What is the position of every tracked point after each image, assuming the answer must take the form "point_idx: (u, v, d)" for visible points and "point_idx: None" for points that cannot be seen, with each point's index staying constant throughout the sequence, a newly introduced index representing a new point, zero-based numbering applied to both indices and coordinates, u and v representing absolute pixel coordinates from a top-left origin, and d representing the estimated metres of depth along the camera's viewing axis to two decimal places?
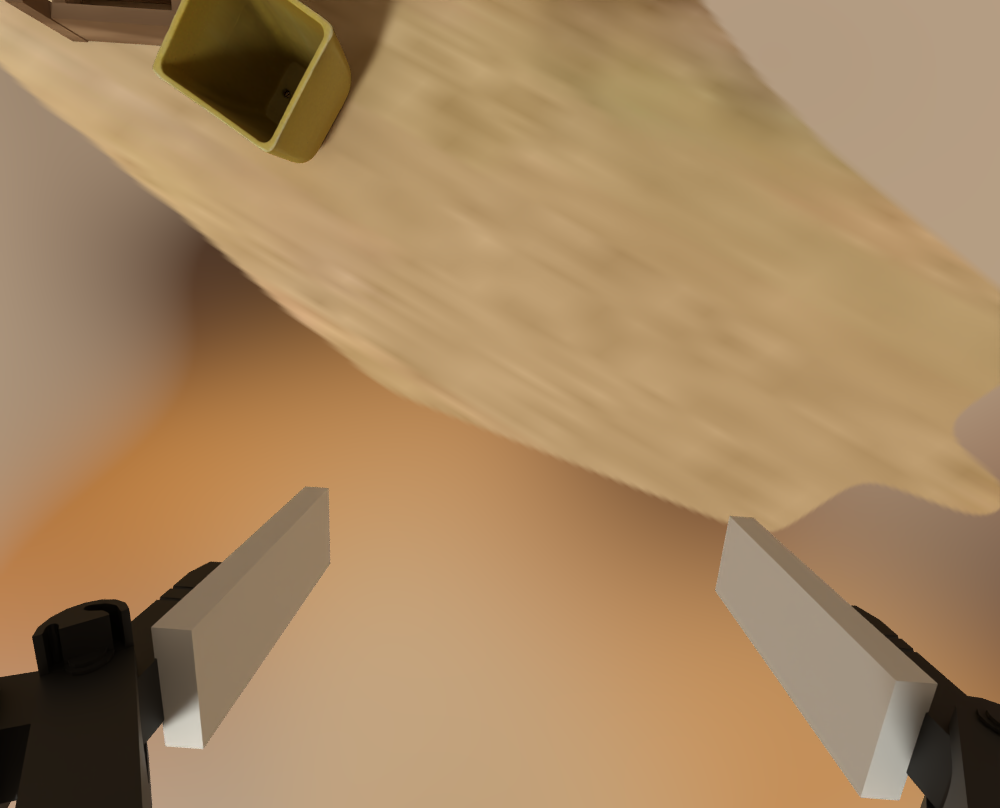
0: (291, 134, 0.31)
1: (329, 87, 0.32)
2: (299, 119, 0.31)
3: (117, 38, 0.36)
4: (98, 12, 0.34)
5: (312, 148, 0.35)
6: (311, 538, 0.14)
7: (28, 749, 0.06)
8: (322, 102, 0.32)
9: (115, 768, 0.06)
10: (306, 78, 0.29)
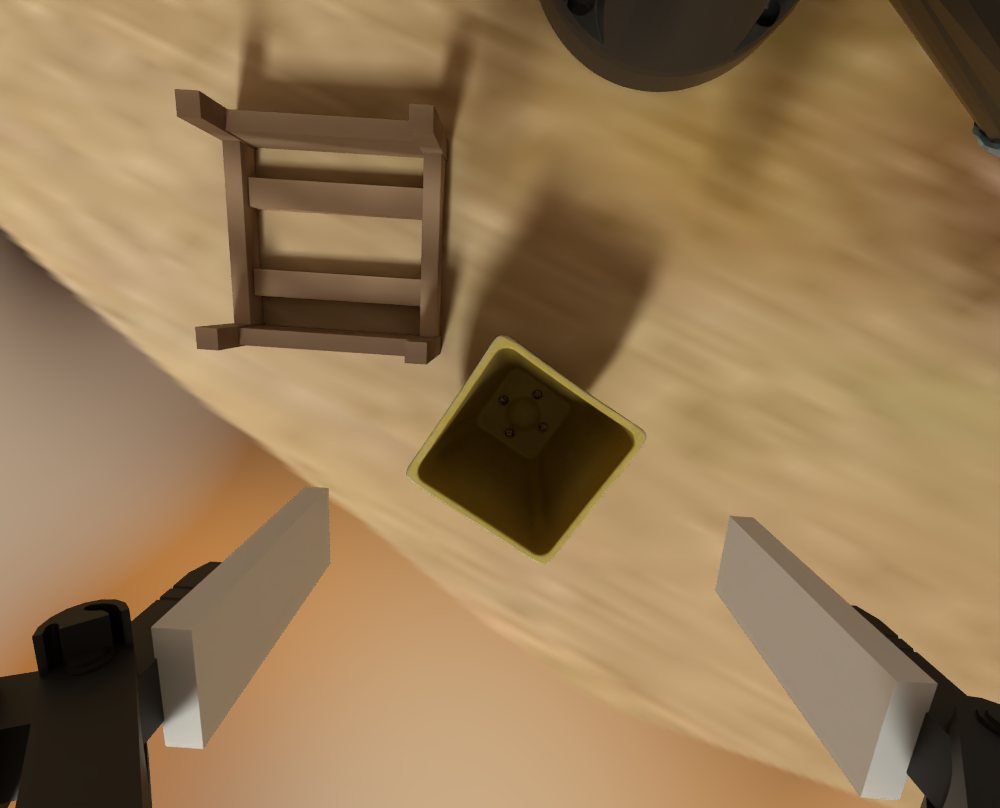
0: None
1: None
2: None
3: None
4: (298, 339, 0.27)
5: None
6: (311, 538, 0.14)
7: (28, 749, 0.06)
8: None
9: (115, 767, 0.06)
10: (605, 490, 0.23)
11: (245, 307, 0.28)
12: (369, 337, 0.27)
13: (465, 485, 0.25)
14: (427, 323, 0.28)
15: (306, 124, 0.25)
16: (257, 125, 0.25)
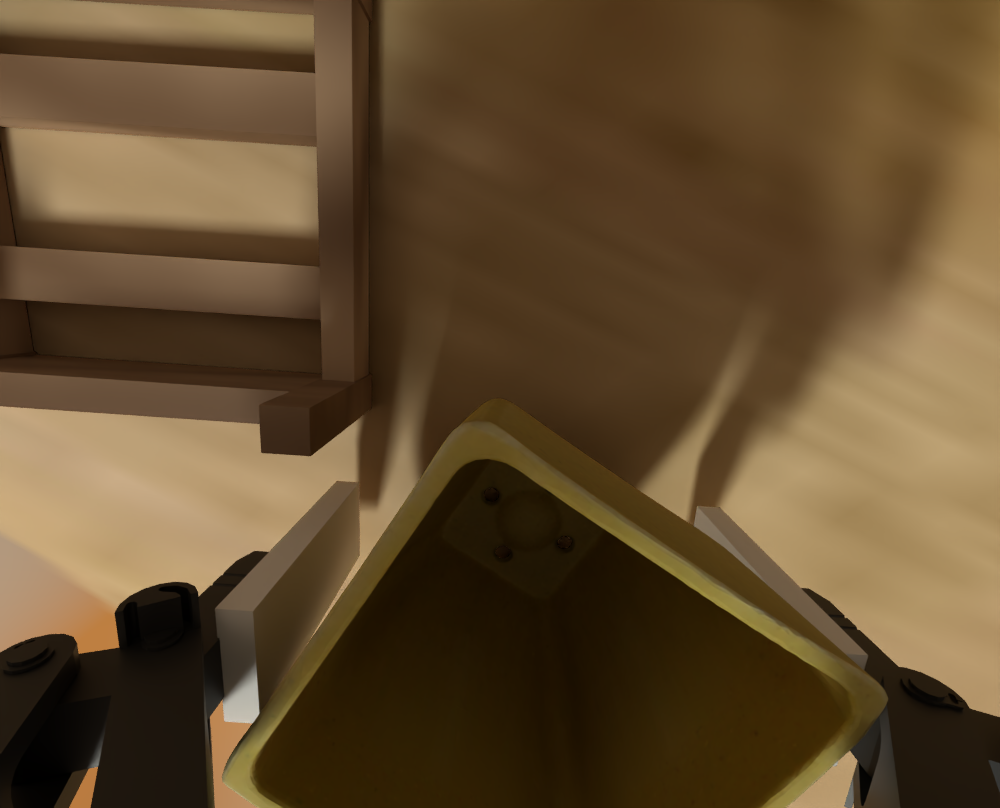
0: None
1: None
2: None
3: None
4: (58, 391, 0.13)
5: None
6: (345, 530, 0.14)
7: (108, 716, 0.07)
8: None
9: (184, 741, 0.07)
10: None
11: None
12: (207, 387, 0.13)
13: (398, 738, 0.11)
14: (336, 355, 0.14)
15: None
16: None
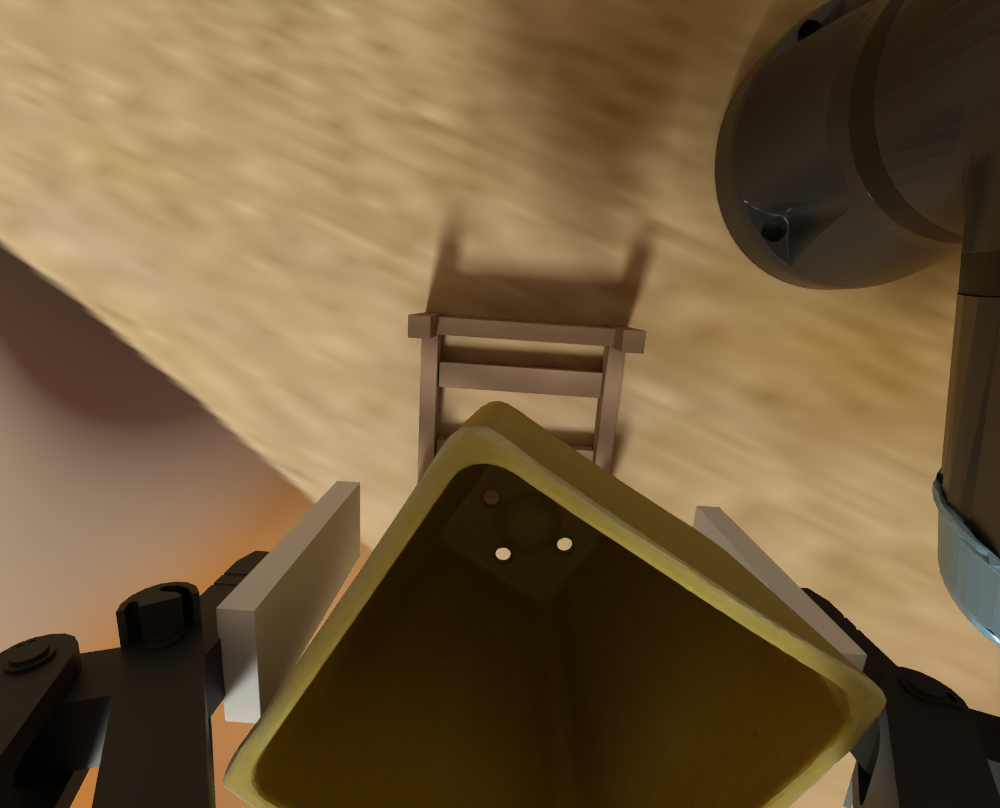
0: None
1: None
2: None
3: None
4: None
5: None
6: (345, 530, 0.14)
7: (110, 715, 0.07)
8: None
9: (184, 741, 0.07)
10: None
11: None
12: None
13: (399, 741, 0.11)
14: None
15: (512, 330, 0.27)
16: (466, 331, 0.27)
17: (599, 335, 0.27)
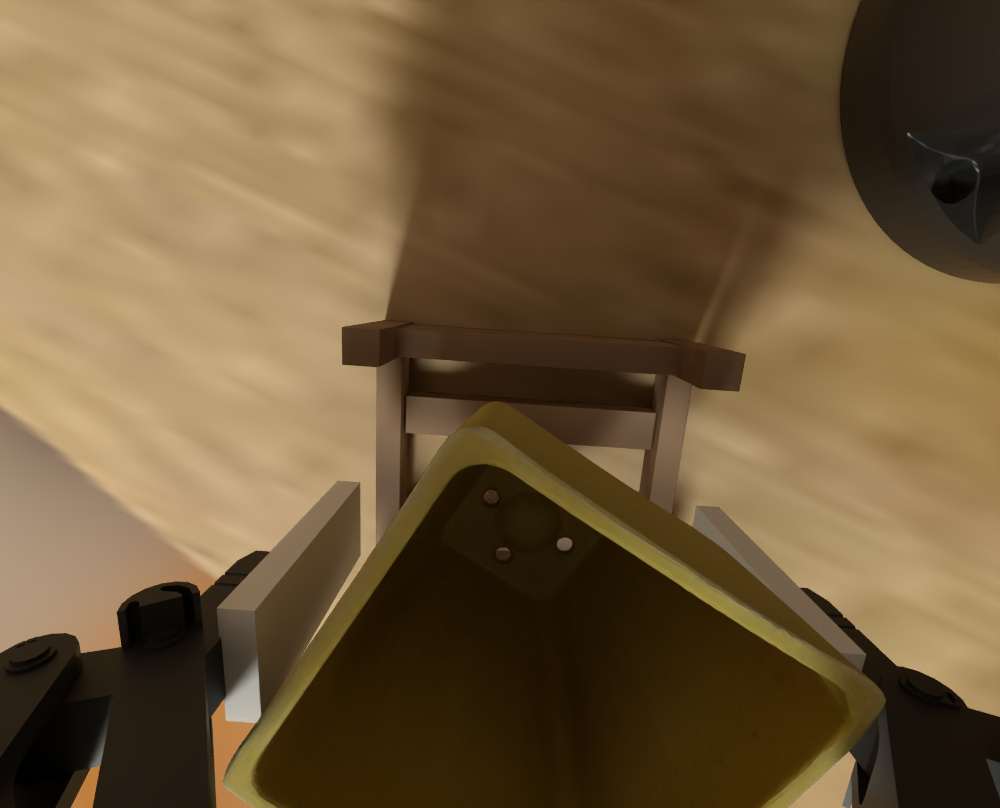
0: None
1: None
2: None
3: None
4: None
5: None
6: (346, 530, 0.14)
7: (112, 715, 0.07)
8: None
9: (185, 741, 0.07)
10: None
11: None
12: None
13: (399, 741, 0.11)
14: None
15: (516, 350, 0.17)
16: (443, 351, 0.17)
17: (657, 358, 0.17)
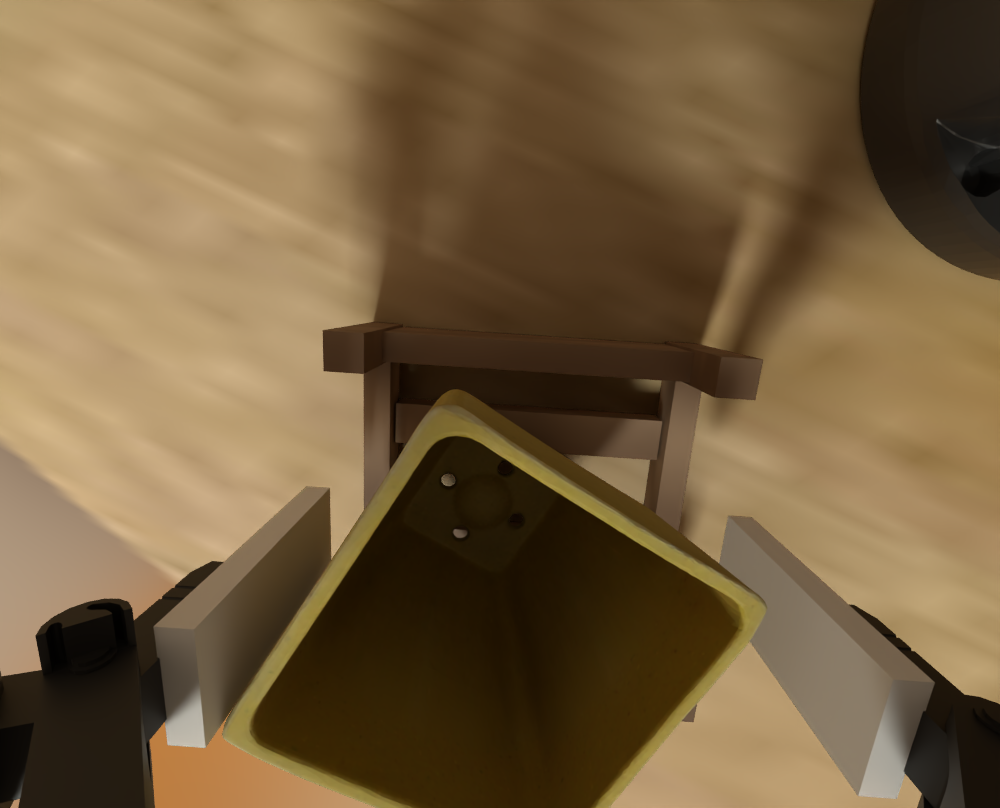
0: None
1: None
2: None
3: None
4: None
5: None
6: (312, 538, 0.14)
7: (32, 747, 0.06)
8: None
9: (117, 767, 0.06)
10: (678, 722, 0.10)
11: None
12: None
13: (377, 695, 0.12)
14: None
15: (513, 355, 0.15)
16: (434, 356, 0.15)
17: (665, 363, 0.15)
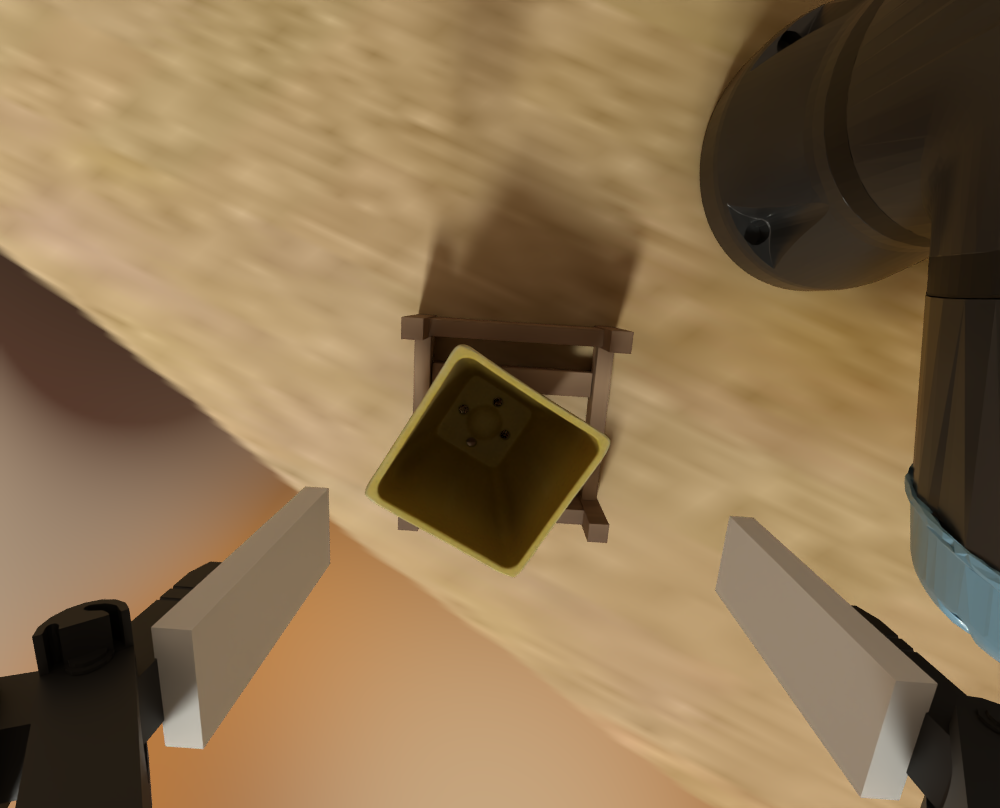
0: None
1: None
2: None
3: None
4: None
5: None
6: (311, 538, 0.14)
7: (28, 749, 0.06)
8: None
9: (115, 767, 0.06)
10: (571, 498, 0.22)
11: None
12: None
13: (428, 500, 0.24)
14: (589, 488, 0.31)
15: (503, 332, 0.27)
16: (458, 332, 0.27)
17: (588, 336, 0.27)
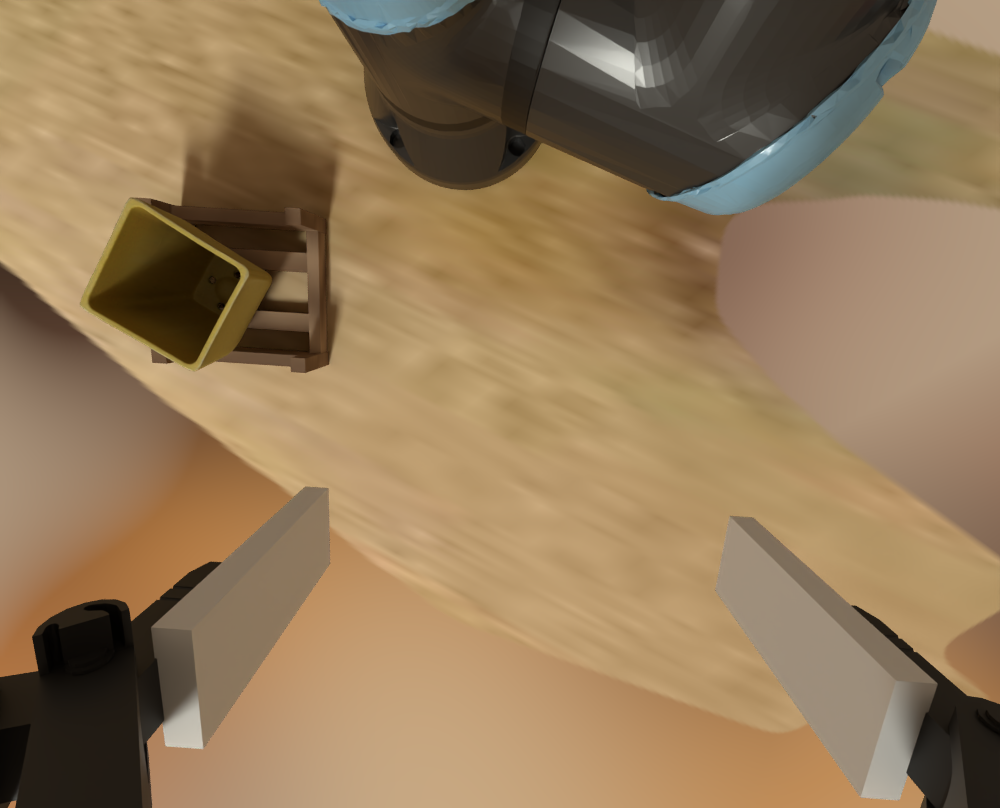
0: (215, 349, 0.34)
1: (250, 301, 0.35)
2: (222, 336, 0.34)
3: None
4: None
5: (238, 340, 0.38)
6: (311, 538, 0.14)
7: (28, 749, 0.06)
8: (244, 312, 0.36)
9: (115, 767, 0.06)
10: (226, 311, 0.32)
11: None
12: (272, 354, 0.40)
13: (145, 323, 0.34)
14: (314, 344, 0.41)
15: (224, 215, 0.37)
16: (191, 215, 0.38)
17: None
